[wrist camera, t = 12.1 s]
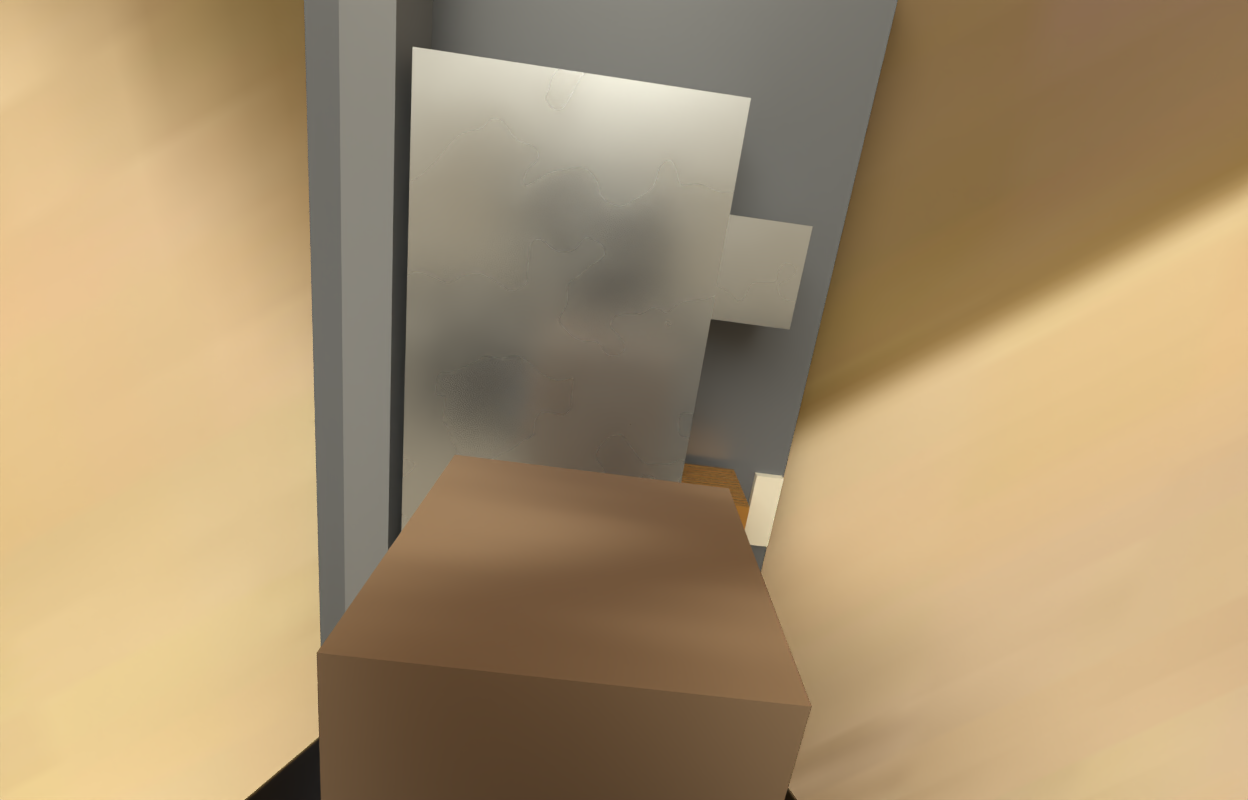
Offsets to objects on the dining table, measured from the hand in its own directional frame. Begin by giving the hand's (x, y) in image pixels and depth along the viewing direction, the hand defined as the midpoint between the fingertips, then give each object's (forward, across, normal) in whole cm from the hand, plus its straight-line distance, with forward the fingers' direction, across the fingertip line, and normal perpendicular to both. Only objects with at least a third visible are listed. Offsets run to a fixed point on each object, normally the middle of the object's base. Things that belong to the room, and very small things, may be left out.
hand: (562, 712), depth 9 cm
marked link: (+1, 0, 0) cm, 1 cm away
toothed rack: (+7, 0, 0) cm, 7 cm away
